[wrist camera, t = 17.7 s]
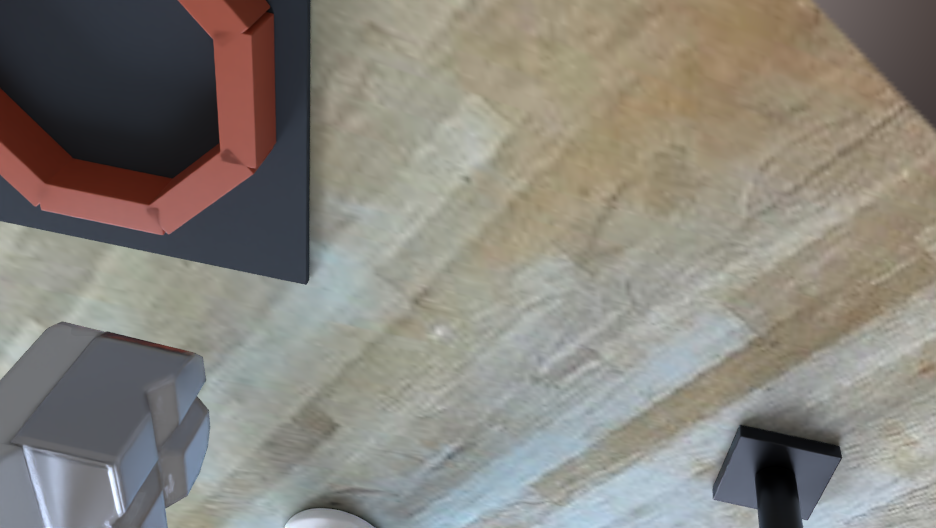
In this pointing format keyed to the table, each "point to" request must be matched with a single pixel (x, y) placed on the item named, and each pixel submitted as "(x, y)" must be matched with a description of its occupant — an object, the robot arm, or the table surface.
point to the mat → (161, 121)
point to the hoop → (150, 196)
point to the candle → (326, 519)
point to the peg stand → (776, 475)
